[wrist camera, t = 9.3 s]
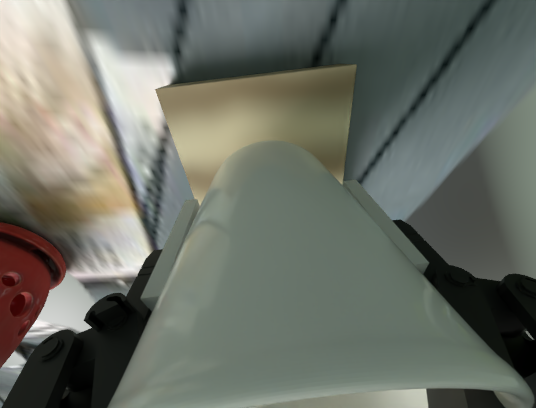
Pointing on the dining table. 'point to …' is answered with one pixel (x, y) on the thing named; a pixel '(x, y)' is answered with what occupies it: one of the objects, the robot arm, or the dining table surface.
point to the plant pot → (24, 282)
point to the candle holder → (300, 305)
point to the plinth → (260, 117)
